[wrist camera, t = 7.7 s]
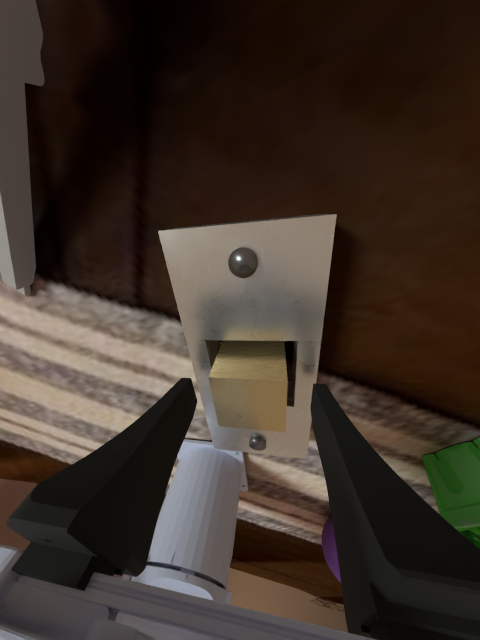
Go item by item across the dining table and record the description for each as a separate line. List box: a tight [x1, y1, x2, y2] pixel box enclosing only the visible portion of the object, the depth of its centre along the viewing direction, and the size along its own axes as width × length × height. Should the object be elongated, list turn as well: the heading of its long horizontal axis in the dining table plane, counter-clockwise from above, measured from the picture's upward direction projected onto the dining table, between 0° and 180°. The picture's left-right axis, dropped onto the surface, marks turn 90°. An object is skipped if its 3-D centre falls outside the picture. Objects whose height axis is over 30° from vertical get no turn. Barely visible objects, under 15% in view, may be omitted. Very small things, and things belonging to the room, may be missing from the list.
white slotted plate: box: [158, 214, 337, 459], centre depth 14 cm, size 18×8×3 cm, turn 5°
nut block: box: [208, 340, 288, 432], centre depth 13 cm, size 4×4×5 cm
